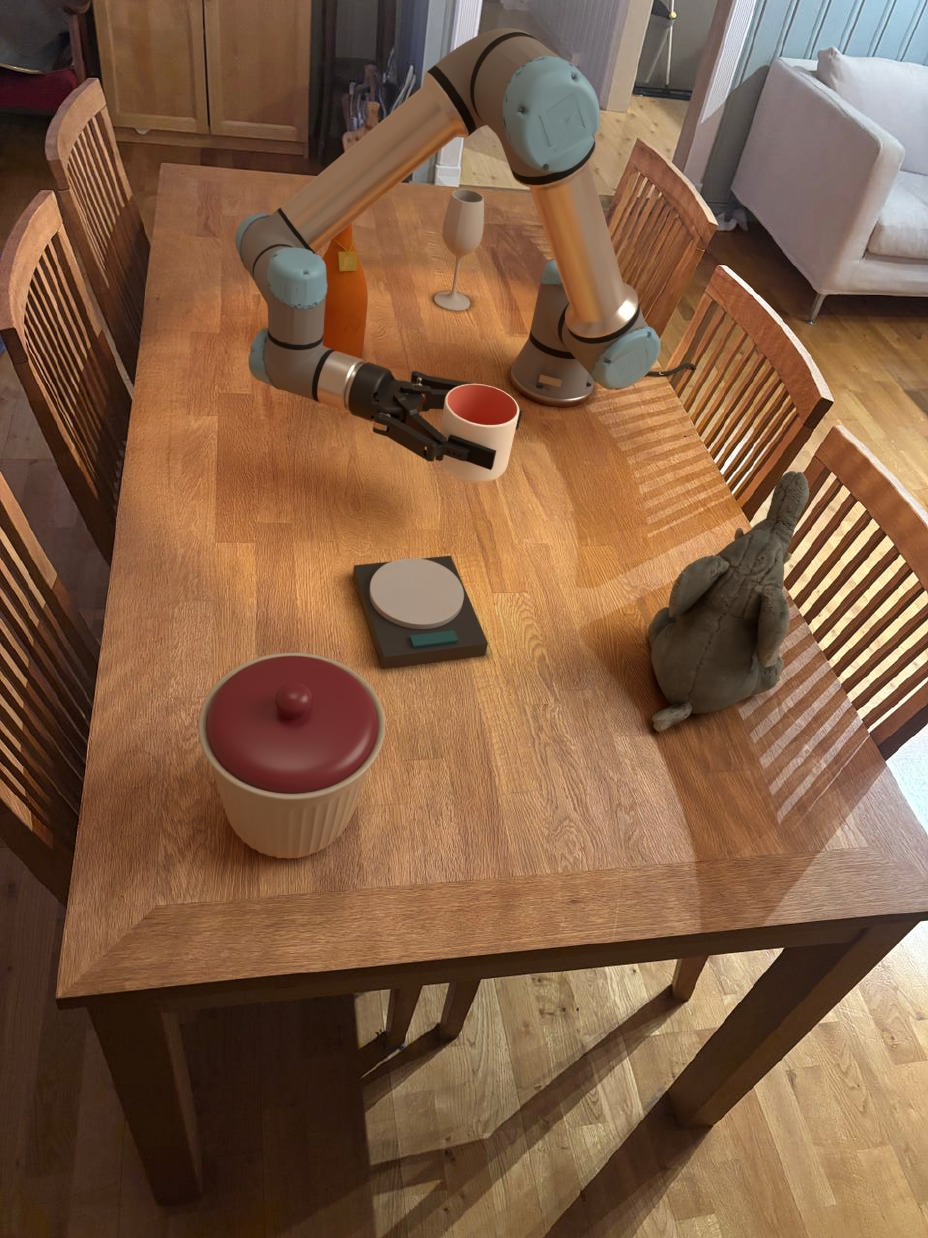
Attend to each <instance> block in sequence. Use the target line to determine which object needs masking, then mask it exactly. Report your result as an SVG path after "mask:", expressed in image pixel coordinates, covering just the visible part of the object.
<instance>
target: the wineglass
mask: <svg viewBox="0 0 928 1238" xmlns="http://www.w3.org/2000/svg"><path fill="white" fill-rule="evenodd" d="M484 225H485V198H484V196H483V195H482V194H481V193H480V192H477V191H475V190H472V189H467V188H458V189H455V190H453V191H452V192H451V195H450V198H449V201H448V204H447V208H446V211H445V216H444V218H443V224H442V230H441V231H442V233H441V235H442V240H443V242H444V244H445V246H446V248H447V250H449V252H451V254H452V255H453V256H454V258H455V268H454V273H453V281H452V287H451V291H440V292H438V293H436V294H435V295H434V298H433V300H434V303H435V304H436V305H437V306H438V307H440V308H442V309H444V310H446V311H454V312H460V311H461V312H462V311H464V310H467V309H469V308H470V306H471V301H470V299H469V298H468V297H467V296H466V295H464V294H462V293H459V292H457V285H458V277H459V270H460V264H461V261H462V259H463V258H465V257H467V256H468V255H470V254H471V253H473V252H474V251H475V250H476V249H477V248H478V247H479V246H480V244H481V243H482V238H483V233H484Z"/></svg>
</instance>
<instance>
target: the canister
mask: <svg viewBox="0 0 928 1238" xmlns="http://www.w3.org/2000/svg"><path fill="white" fill-rule="evenodd" d="M200 707H201V708H200V711H199V715H198V719H197V720H198V722H197V734H198V739H199V744H200V748H201V750H202V752H203V755H204V757H205V758H206V760H207V761H208V763H209V764H210V766H211V767H212V770H213V774H214V777H215V782H216V786H217V789H218V794H219V795H220V800H221V803H222V806H223V809H224V813H225V815H226V817H227V820H228V822H229V825H230V826H231V828H232V829H233V831H234V833H235V834H236V836H238V837H239V838H240V839H241V841H242V842H243V843H244V844H246V845H248V846H249V847H250V849H253V850H255V851H257V852H258V853H260V854H264V855H267V856H268V857H274V858H277V859H287V860H289V859H299V858H303V857H309V856H310V855H312V854H317V853H319V851H321V850H324V849H325V850H326V848H327V847H328V846H329V845H331V844H333V843H335V842H336V840H337V838H339V837H340V836H341V835H342V834H343V833H344V831H345V829H346V828H347V827H348V825H349V824H350V821H351V819H352V818H353V815H354V813H355V811H356V808H357V805H358V803H359V799H360V798H361V794H362V791H363V788H364V785H365V782H366V779H367V777H368V773H369V770H370V768H371V767H372V766H373V764H374V763H375V761H376V759H377V758H378V756H379V754H380V752H381V750H382V747H383V744H384V741H385V736H386V717H385V716H386V715H385V710H384V707H383V705H382V702H381V700H380V698H379V696H378V694H377V693H376V691H375V689H374V688H373V687H372V686H371V684H370V683H369V682H368V681H367V680H366V679H365V678H364V677H362V675H360V674H359V673H358V672H357V671H355V670H354V669H352V668H351V667H349V666H347V665H345V664H344V663H342V662H339V661H337V660H335V659H332V658H330V657H326V656H323V655H319V654H314V653H307V652H294V651H293V652H292V651H291V652H290V651H289V652H278V653H272V654H271V653H270V654H266V655H263V656H259V657H256V658H253V659H250V660H248V661H246V662H245V661H244V662H243V663H241V664H239V665H238V666H235V667H234V668H232V669H231V670H230V671H228V672H227V673H226V674H224V675H223V676H221V678H219V679H218V680H217V682H216V683H214V685H213V686H212V687H211V689H210V690H209V692H208V693H207V694H206V696H205V698H204V700H203V702H202V704H201V706H200Z"/></svg>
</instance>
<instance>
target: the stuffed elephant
mask: <svg viewBox="0 0 928 1238" xmlns="http://www.w3.org/2000/svg"><path fill="white" fill-rule="evenodd" d="M809 496H810V488H809V482H808V479H807V478H806V475H805V474H804V473H803V471H794V470H789V471H787V472H785V473H784V474H783V475H782V476H781V477H780V479H779V480H778V481H777V482H776V484H775V486H774V488H773V492H772V497H771V500H770V505H769V508H768V510H767V513H766V518H764V519H762V520H760V521H759V522H757V523H756V524H755V525H753V527H751V529H750V530H748V531H747V532H745V533H744V530H743V529H742V527H738V528H736V530H735V532H734V538H733V539H734V540H733V541H731V542H730V543H728V544H727V545H725V546H724V548H723V549H721V550H720V551H719V552H718V553H716V554H714V555H713V554H711V555H705V556H703V557H700V558H697V559H696V560H694V561H692V562H691V563H689V564H687V565H686V566H685V567H684V568H683V570H682V571H680V574H678V576H677V577H676V579H675V581H674V582H673V584H672V587H671V591H670V593H669V594H670V595H669V599H668V606H665V607H662V608H661V609H659V610H658V611H657V612H656V614H655V615H654V617H653V618H652V620H651V622H650V624H649V625H648V627H647V634H648V635H647V637H648V641H649V646H650V648H651V652H650V660H651V664H652V667H653V671H654V674H655V678H656V681H657V683H658V684H657V685H658V686H659V688H660V689H661V692H662V693H663V695H664V697H665V699H666V701H667V702H668V703H669V704H670V705H671V706H669V707H667V708H663V709H662V710H659V711H657V713H655V714H653V716H652V718H651V720H652V722H653V729H654V730H655V731H656V732H658V733H659V732H660V733H662V732H663V731H665V730H667V729H669V728H671V727H672V726H674V725H677V724H679V723H680V722H683V721H685V720H686V719H688V717H689V716H690V715H691V714H693V715H694V714H711V713H715V712H719V711H721V710H724V709H726V708H729V707H731V706H733V705H735V704H737V703H738V702H739V701H743V700H745V699H747V698H748V697H752V696H756V695H759V694H763V693H765V692H767V691H770V690H772V689H773V688H775V687H776V686H777V684H778V682H780V681H781V675H782V672H783V669H784V665H785V663H784V661H785V660H784V659H783V658H782V656H781V655H780V647H781V646H782V645H783V643H784V641H785V639H786V637H787V633H789V631H790V624H791V613H790V611H791V610H790V604H789V601H788V600H787V597H786V596H785V595H786V594H785V593H784V592H783V588H784V584H785V583H784V581H785V564H787V563H789V562H790V560H791V559H792V557H793V554H792V553H791V552H787V551H788V549H789V547H790V546H791V543H792V540H793V537H794V533H795V529H796V527H797V524H798V523H797V522H798V520H799V517H800V516H801V513H802V512H803V511H804V509H805V506H806V504H807V503H808V501H809Z"/></svg>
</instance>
